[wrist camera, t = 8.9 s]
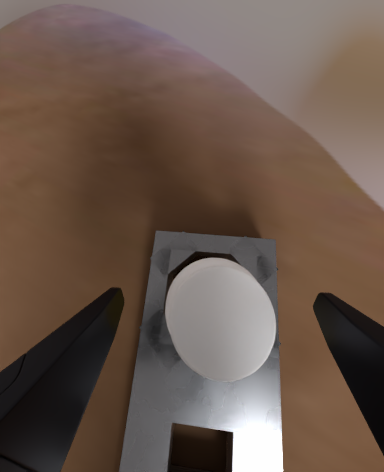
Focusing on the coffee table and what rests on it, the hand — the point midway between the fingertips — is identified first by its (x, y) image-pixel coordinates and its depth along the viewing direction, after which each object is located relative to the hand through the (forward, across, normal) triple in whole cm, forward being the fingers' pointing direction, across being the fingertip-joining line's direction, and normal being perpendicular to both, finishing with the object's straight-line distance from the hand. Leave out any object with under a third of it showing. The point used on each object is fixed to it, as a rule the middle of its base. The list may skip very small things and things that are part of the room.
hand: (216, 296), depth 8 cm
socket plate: (+2, 0, +10) cm, 10 cm away
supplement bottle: (+6, 0, +6) cm, 9 cm away
